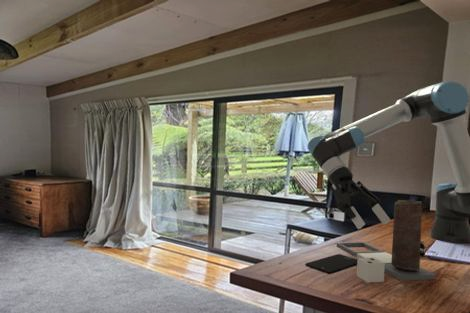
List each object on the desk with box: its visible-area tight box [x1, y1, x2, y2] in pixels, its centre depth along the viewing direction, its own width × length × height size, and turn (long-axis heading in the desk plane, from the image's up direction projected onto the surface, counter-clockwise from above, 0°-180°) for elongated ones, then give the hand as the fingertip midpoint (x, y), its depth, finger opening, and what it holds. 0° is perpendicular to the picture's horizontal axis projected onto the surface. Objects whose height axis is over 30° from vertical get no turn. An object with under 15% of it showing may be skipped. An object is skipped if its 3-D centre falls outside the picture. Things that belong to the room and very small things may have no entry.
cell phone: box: [304, 253, 358, 275], centre depth 107 cm, size 9×18×1 cm, turn 130°
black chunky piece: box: [420, 240, 427, 257], centre depth 123 cm, size 12×7×5 cm, turn 56°
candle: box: [391, 199, 423, 271], centre depth 100 cm, size 8×7×20 cm
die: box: [356, 257, 385, 283], centre depth 96 cm, size 5×5×5 cm
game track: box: [336, 241, 436, 282], centre depth 112 cm, size 11×34×1 cm, turn 13°
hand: (375, 224), depth 109 cm, fingers open, 13 cm apart
